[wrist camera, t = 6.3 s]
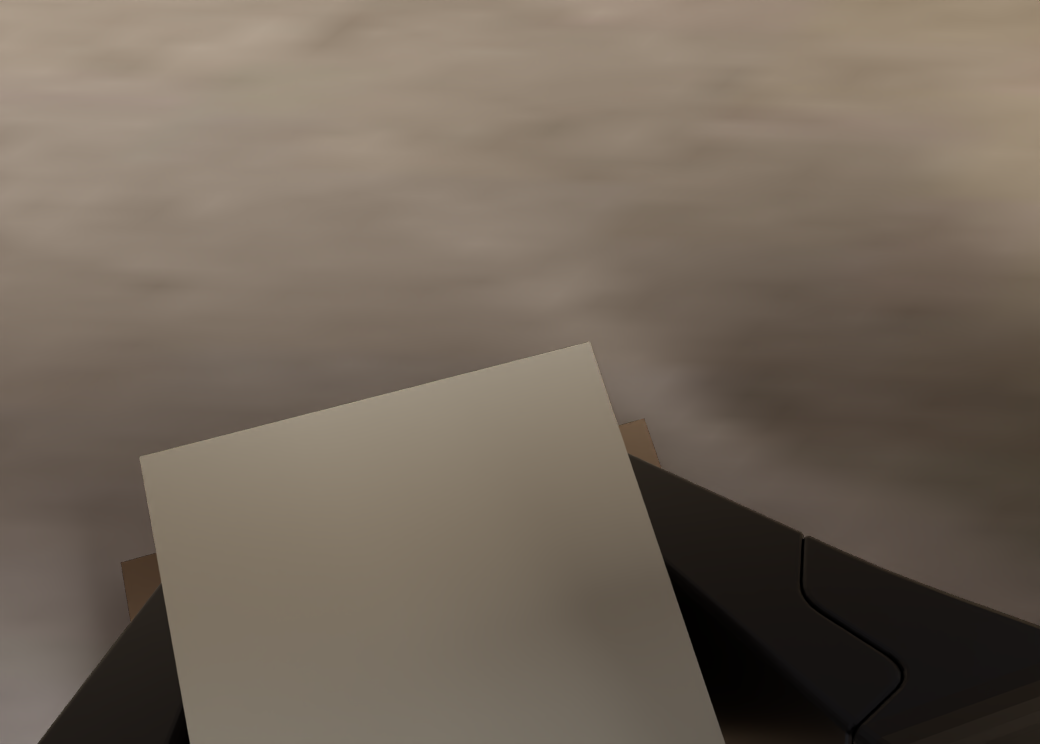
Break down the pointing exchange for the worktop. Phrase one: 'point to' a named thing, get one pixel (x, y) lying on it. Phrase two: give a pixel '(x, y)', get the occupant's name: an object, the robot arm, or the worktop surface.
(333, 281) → the worktop surface
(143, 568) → the wooden base with post
